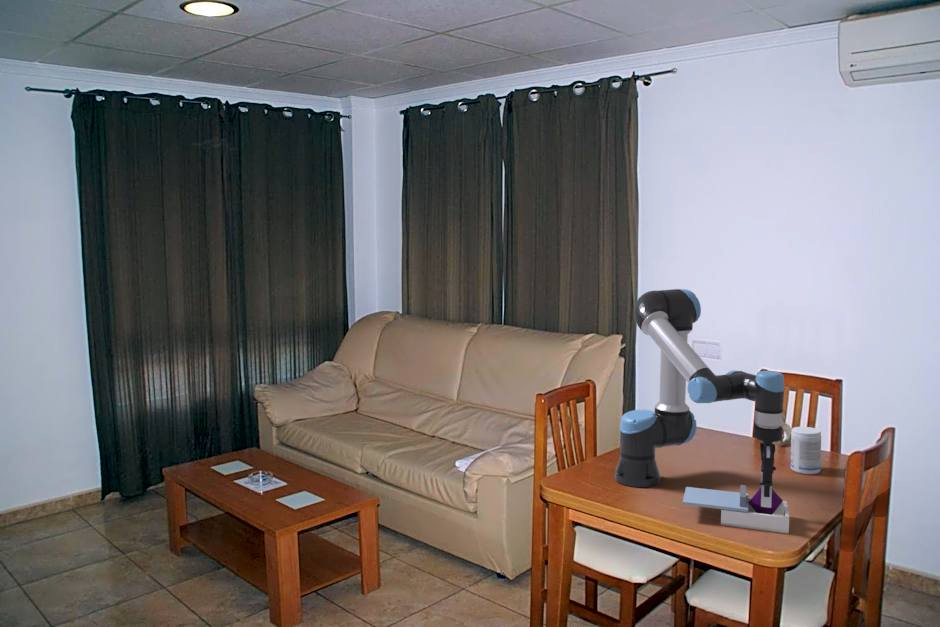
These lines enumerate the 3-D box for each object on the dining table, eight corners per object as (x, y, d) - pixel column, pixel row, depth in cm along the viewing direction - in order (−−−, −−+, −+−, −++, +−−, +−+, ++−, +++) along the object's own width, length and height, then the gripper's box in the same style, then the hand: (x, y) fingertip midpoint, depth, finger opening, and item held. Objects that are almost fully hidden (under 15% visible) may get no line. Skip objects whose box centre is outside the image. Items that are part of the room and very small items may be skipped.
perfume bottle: (756, 505, 215) (758, 446, 213) (782, 511, 210) (785, 451, 208) (747, 512, 209) (749, 452, 207) (774, 519, 204) (777, 458, 202)
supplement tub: (825, 471, 251) (827, 430, 249) (810, 477, 246) (811, 435, 244) (799, 464, 259) (801, 424, 257) (784, 469, 254) (785, 429, 252)
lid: (682, 504, 211) (682, 491, 211) (686, 489, 223) (686, 477, 223) (748, 512, 205) (748, 499, 204) (748, 496, 217) (748, 484, 216)
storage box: (720, 524, 208) (721, 509, 208) (722, 508, 220) (722, 494, 220) (788, 533, 202) (789, 518, 201) (786, 516, 214) (786, 501, 213)
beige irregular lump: (766, 442, 281) (770, 418, 284) (766, 446, 286) (770, 422, 289) (790, 446, 277) (793, 421, 280) (790, 450, 282) (793, 426, 285)
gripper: (784, 436, 195) (781, 516, 198) (781, 416, 215) (778, 489, 218) (754, 434, 198) (752, 513, 200) (754, 414, 218) (751, 486, 220)
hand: (765, 500), depth 209 cm, fingers closed on perfume bottle, 9 cm apart
